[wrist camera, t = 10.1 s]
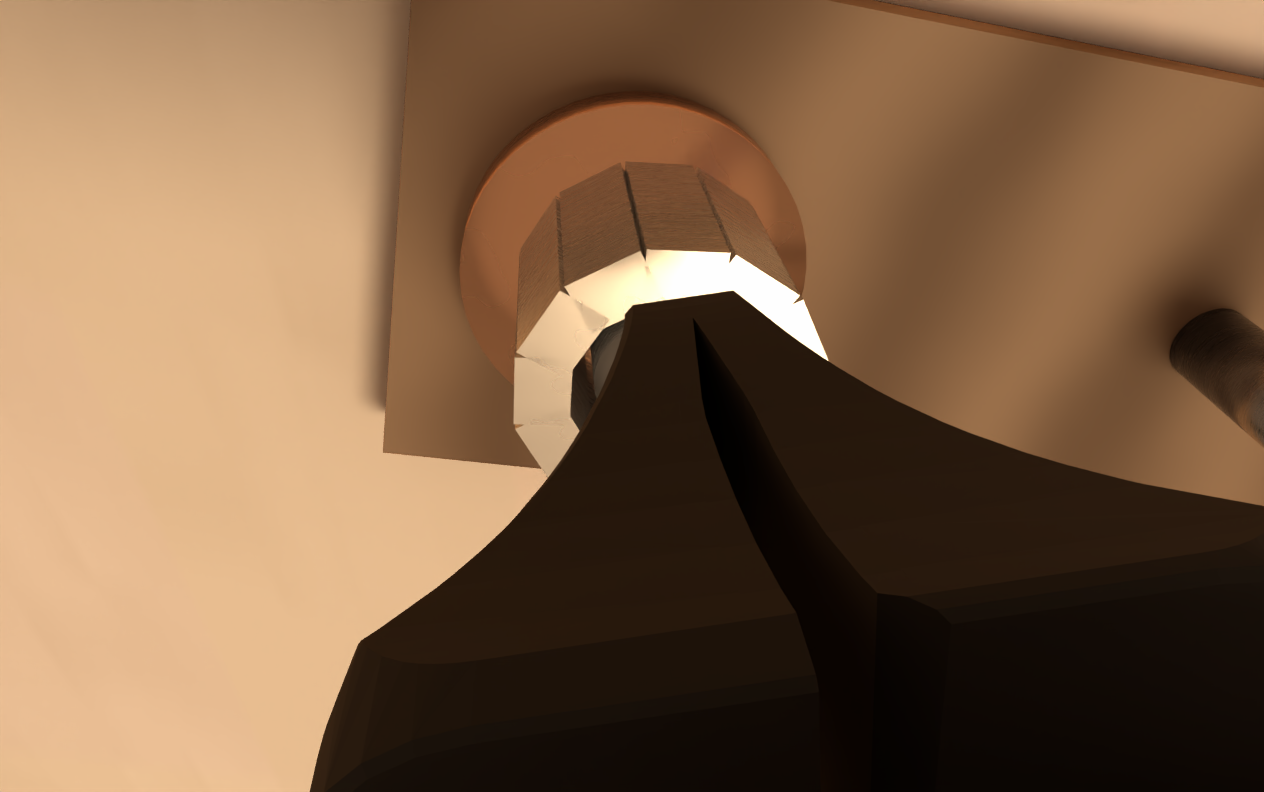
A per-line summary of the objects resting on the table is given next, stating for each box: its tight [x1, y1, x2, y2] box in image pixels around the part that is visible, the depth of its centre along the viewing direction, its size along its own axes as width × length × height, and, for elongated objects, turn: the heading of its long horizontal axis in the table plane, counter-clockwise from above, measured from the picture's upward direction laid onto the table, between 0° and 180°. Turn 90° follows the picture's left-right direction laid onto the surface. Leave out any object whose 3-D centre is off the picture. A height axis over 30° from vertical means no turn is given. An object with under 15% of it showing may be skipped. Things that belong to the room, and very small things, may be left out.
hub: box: [459, 91, 806, 398], centre depth 17 cm, size 7×7×5 cm
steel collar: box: [514, 161, 828, 477], centre depth 17 cm, size 5×5×4 cm
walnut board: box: [383, 0, 1264, 506], centre depth 21 cm, size 23×11×2 cm, turn 79°
